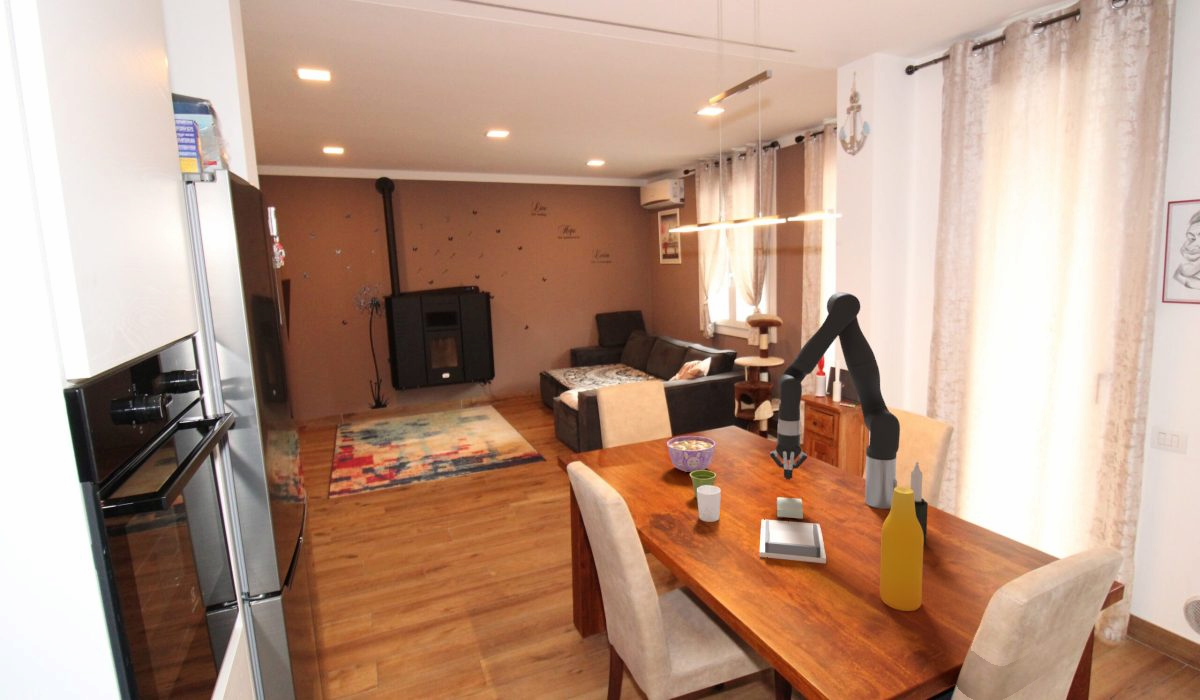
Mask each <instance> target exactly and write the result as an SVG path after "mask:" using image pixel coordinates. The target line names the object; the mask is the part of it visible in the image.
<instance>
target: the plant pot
mask: <svg viewBox="0 0 1200 700" xmlns="http://www.w3.org/2000/svg"><path fill="white" fill-rule="evenodd" d="M689 476H690V479H691V480H692V481H691V483H692V486H693V493H694V498H696V499H697V488H698V487H700V486H704V485H712V486H714V481H715V479H716V476H717V474H716V473H715V472H713V471H711V470H706V469H704V470H698V471H693V472H691V473H689Z"/></svg>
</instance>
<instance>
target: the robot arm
mask: <svg viewBox="0 0 1200 700" xmlns="http://www.w3.org/2000/svg"><path fill="white" fill-rule="evenodd" d="M826 310H827V316H826V318H825V319H824V322H823V323H822V325H821V326H820V327H819V329H818V330H817V331H816V332H815V333H814V334H813V335H812V336H811V337H810V338H809V340H807V341H806V342H805V344H804V345H803V346H802V347H801V349H800V351H799V353H798V354H797V355H796V357H795V358H794V360H793V362H792V363H790V364H789V366H788V367H787V368H786V369H785V370H784V372H783V373H782V374H781V376H780V377H779V378H778V382H777V383H778V385H777V386H778V388H779V391H780V403H779V406H778V421H777V430H776V431H777V437H776V438H777V441H776V442H777V445H776V446H775V450H773V451H769V456H770V457H771V459H772V460H773V462H775V464H776V465H777V466H778V467H779V468H782V469H783V478H785V480H787V481H790V480H791V479H792V478H793V470H794V469H795V470H796V469H798V468H799V467H800V466H801V465H802V464H803V463H804V462H805V461H806V460H807V459H808V455H807V453H806V452H805V453H804V451H802V448H801V431H802V430H801V407H800V405H801V401H802V395H803V394H802V393H803V387H802V385H803V384H802V382H803V381H804V379H805V378H806V377H807V376H808V375H810V374H812V372H813V371H814V370H815V369H816V367H817V365H818V364H819V362H820V361H821V360H822V359H823V357H824V355H825V354H826V352H827V351H828V349H829V348H830V346H831V345H832V344H833V342H834V341H836V339H837V337H838V338H839V343H840V346H841V351H842V355H843V358H844V363H845V365H846V368H847V371H848V373H849V377H850V380H851V381H852V384H853V386H854V389H855V392H856V394H857V397H858V398H859V399H858V400H859V403H860V407H861V410H862V411H861V413H862V416H863V421H864V425H865V428H867V430H868V431H869V443H868V444H869V445H867V446H866V448H865V449H866V450H865V453H866V454H865V491H864V492H865V494H864V496H865V497H864V498H865V501H864V502H865V504H866V505H868V506H869V507H871V508H876V509H879V510H889V509H890V510H891V505H892V499H893V492H894V488H896V487H898V481H897V474H896V473H897V453H898V451H899V448H900V437H901V436H900V435H901V425H900V424H901V423H900V421H899V419H898V418H897V416H896V415H895V414H893V413H892V412H890V411H889V409H888V406H887V404H886V403H885V400H884V397H883V395H882V391H881V390H882V389H881V375H880V374H881V373H880V369H879V365H878V362H877V359H876V356H875V353H874V351H873V349H872V347H871V345H870V343H869V342H868V340H867V339H866V337H865V334H864V333H863V332H862V329H861V327H860V323H859V320H858V315H859V313H860V311H861V303H860V300H859V298H858V297H857V296H856V295H853V294H851V293H848V292H843V291H841V292H836V293H833V294H832V295H830V297H829V298H828V300H827V303H826ZM778 455H779V457H780V458H781V459H782V460H783V462H782V460H780V459H779V457H778ZM798 457H799V458H798ZM797 458H798V459H797ZM796 459H797V460H796ZM794 460H796V461H794ZM788 461H789V462H788ZM794 462H795V463H794Z"/></svg>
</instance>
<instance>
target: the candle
mask: <svg viewBox="0 0 1200 700" xmlns="http://www.w3.org/2000/svg"><path fill="white" fill-rule="evenodd" d="M909 489H912V490H913V492H914V501H915V512H916V517H917V519H918V521H919V523H920V525H921V528H922V531H923V536H924V544H923V546H924V545H926V544H927V534H928V533H927V531H928V529H927V528H928V508H929V507H928V505H929V503H928V502H927V501H925V499H924V498H922V497H923V496H922V495H923V494H922V493H923V492H922V491H923V472H922V471H921V469H920V466H919V462H918V461H916V462H915V465H914V468H913V469H912V471H910V487H909Z"/></svg>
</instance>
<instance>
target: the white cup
mask: <svg viewBox="0 0 1200 700" xmlns="http://www.w3.org/2000/svg"><path fill="white" fill-rule="evenodd" d="M721 492H722V491H721V488H720V487H718V486H716V485H713V486H712V485H704V486H700V487H698V488H697V498H696V500H697V507H698V508H697V510H698V518H699V520H701V521H703V522H706V523H713V522H717V521H719V519H720V515H721V514H720V511H721V497H722V496H721Z"/></svg>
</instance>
